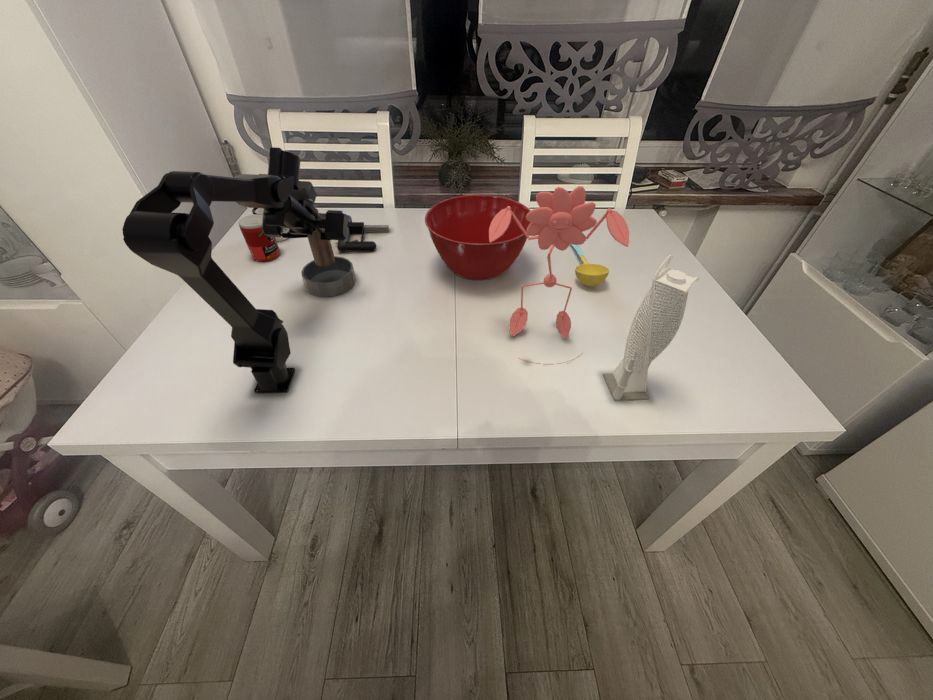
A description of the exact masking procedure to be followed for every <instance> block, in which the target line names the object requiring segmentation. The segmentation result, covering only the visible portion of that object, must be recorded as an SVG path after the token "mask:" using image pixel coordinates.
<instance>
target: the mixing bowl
mask: <svg viewBox="0 0 933 700" xmlns="http://www.w3.org/2000/svg"><path fill="white" fill-rule="evenodd" d="M507 206H510V207H511V210H512V212H513V213H514V215H515V216H516V218H517V219H518V221H519V222H520V224H521V225H522V227H523V228H524V230H525V231H526V230H527V227H528V225H529V224H530V223H531V222H529V221H528V220H526V215H527V214H528V213H529V212H530V211H531V209H530V208H529V207H528V206H526V205H525V204H523V203H521V202H520V201H517V200H514V199H511V198H508V197H504V196H499V195H493V194H468V195H465V194H464V195H460V196H459V195H458V196H454V197H450V198H447V199H444V200H442V201H439V202H437V203H435V204H434V205H433V206H431V207H430V208H429V209H428V210H427V212H426V213H425V215H424V223H425V226H426V228H427V230H428V233H429V236H430V238H431V241H432V243H433V245H434V247H435V249H436V251H437V253H438V255H439V257H440V259H441V260H442V262H443V263H444V264H445V266H446V267H447V268H448V269H449V271H451V272H453V274H455V275H457V276H459V277H462V278H463V279H467V280H470V281H488V280H490V279H491V280H492V279H494V278H497V277H499V276H501V275H502V274H504V273H505V272H507V271H508V270H509V269H510V268H511V267H512V266H513V264H514V263H515V262H516V260H517V258H518V257H519V256H520V254H521V252H522V251H523V249H524V246H525V244H526V242H527V240H528V238H526V236H525V235H524V233H523V232H522V230H521V229H520V227H519V226H518V224H517V223H516V221H515V220H514V218H513V217H512V216H511V223H510V225H509V227H508V229H507V230H506V231H505V233H504V234H503V235H502V236H501V237H499V238H498V239H496V240H495V241H493V242H491V243H490V241H489V228H490V224H491V222H492V220H493V218H494V217H495V215H496V214H497V213H499V212H500V211H501V210H502V209H505V208H507Z"/></svg>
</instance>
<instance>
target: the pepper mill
mask: <svg viewBox="0 0 933 700" xmlns="http://www.w3.org/2000/svg"><path fill="white" fill-rule="evenodd" d="M322 213H323V212H322ZM322 213H321V212H319V209H318V208H316V214H314V216H320V214H322ZM320 221H322V220H320ZM315 228H316V227H315ZM306 238H307V241H308V244H309V247H310V251H311V254H312V257H313V260H314V261H315V264H316V265H317V266H320V267H326V266H330V265H332V264H333V263H334V262H335V257H334V256H335V254H334V253H335V252H334V249H333V246H332V240H321V230H320V229H319V227H317V232H312V235H307V237H306Z"/></svg>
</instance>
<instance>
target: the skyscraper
mask: <svg viewBox="0 0 933 700" xmlns="http://www.w3.org/2000/svg"><path fill="white" fill-rule="evenodd" d="M672 258H673V253H671V254H669V255H667V257H666V258H665V259H664V260H663V261H662V263H661V264H660V266H659V267H658V269H657V270H656V272H655V274H654V276H653V277H652V281H651V286H650V287H649V289H648V290H647V292H646V293H645V295H644V297H643V298H642V300H641V302H640V304H639V306H638V307H637V310H636V312H635V314H634V316H633V319H632V322H631V325H630V326H629V327H630V328H629V331H628V335H627V338H626V342H625V346H624V347H625V348H624V353H623V357H622V359H621V360H620V361H619V362H618V364H617V366H616V367H615V368H614V370H612V372H611V373H603V374H602V377H603V379H604V381H605V384H606V386H607V388H608V390H609V393H610V395H611V398H612V400H613V402H625V401H627V402H629V401H648V400H650V397H649V395H648V393H647V384H648V372H649V368H650V367H651V366H650V365H651V364H652V362H653V361H654V360H655V359H657V358H658V356H660V355H661V354H663V352H664V351H665V350H666V349H667V348H668V346H669V345H670V344H671V342H672V341H673V340H674V338H675V337H676V335H677V333H678V331H679V329H680V328H681V324H682V322H683V319H684V314H685V311H686V307H687V302H688V297H689V292H690V291H691V289H692V288H693V286H694V285H695V284H696V282H697V283H698V281H699V279H700V275H697V276H695V277H693V276H690V275H687V274H686V273H685V272H684V271H681V270H678V269H671V268H668V267H669V265H670V263H671V260H672Z"/></svg>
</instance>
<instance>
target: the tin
mask: <svg viewBox="0 0 933 700" xmlns="http://www.w3.org/2000/svg"><path fill="white" fill-rule="evenodd" d="M334 257H335V262H334V263H333V264H332V265H330V266H326V267H320V266H317V265H316V264H315V261H314V259H313V260H311V261H309V262H308V263H306V264H305V265H304V266H303V267H302V269H301V278H302V281H303V283H304V287H305V289H306V292H307V293H309V295H312V296H313V297H316V298H322V299H330V298H336V297H340V296H342V295H345V294H347V293H349V292H350V291H351V290H352V289H353V288H354V287H355V285H356V283H357V278H356V272H355V268H354V264H353V262H352V261H351V260H350V259H349V258H346V257H343V256H337V255H334Z"/></svg>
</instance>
